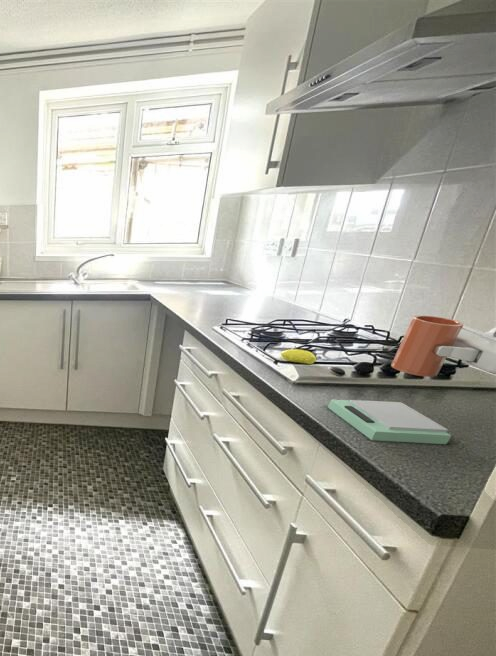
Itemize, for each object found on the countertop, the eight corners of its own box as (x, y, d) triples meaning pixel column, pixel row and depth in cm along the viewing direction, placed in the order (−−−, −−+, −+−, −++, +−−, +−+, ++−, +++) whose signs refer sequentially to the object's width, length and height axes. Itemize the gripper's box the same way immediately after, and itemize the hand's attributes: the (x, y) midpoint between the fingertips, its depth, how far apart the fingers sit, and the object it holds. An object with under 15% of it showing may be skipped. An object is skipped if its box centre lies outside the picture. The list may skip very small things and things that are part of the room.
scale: (391, 412, 89) (397, 399, 88) (445, 446, 78) (453, 432, 76) (326, 409, 90) (331, 396, 89) (370, 442, 79) (377, 428, 78)
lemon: (314, 368, 111) (319, 354, 109) (278, 362, 115) (283, 348, 113) (313, 363, 114) (318, 349, 112) (278, 357, 118) (282, 344, 116)
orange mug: (402, 361, 85) (425, 313, 81) (444, 373, 79) (471, 323, 75) (383, 366, 83) (405, 317, 78) (424, 378, 77) (451, 327, 73)
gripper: (474, 317, 84) (393, 312, 87) (578, 352, 66) (472, 344, 69) (458, 346, 86) (381, 340, 89) (554, 387, 68) (453, 379, 71)
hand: (421, 342), depth 79 cm, fingers closed on orange mug, 7 cm apart
